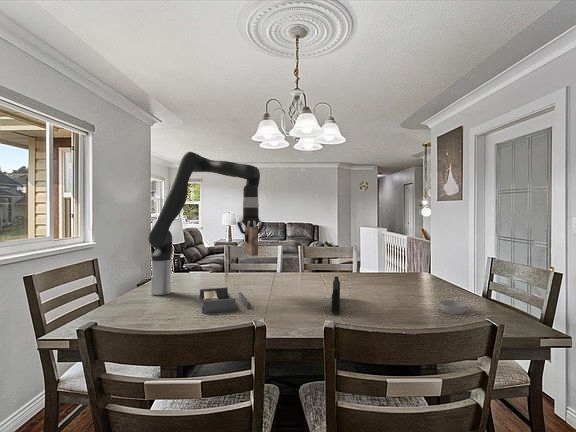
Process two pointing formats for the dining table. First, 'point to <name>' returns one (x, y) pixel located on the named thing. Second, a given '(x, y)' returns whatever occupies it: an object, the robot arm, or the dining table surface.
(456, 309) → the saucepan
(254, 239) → the walnut board
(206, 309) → the grey open tray
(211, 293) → the offcut stack
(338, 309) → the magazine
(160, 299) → the dining table surface
